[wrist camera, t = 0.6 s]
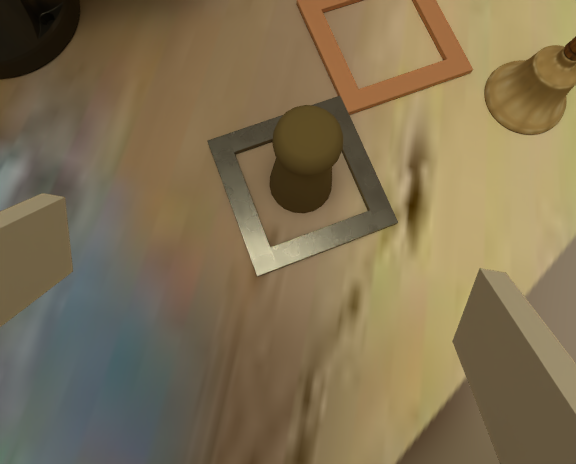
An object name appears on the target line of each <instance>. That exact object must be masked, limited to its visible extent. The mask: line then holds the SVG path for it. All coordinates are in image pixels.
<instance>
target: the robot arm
mask: <svg viewBox="0 0 576 464" xmlns="http://www.w3.org/2000/svg"><path fill="white" fill-rule="evenodd" d="M79 13H80V4H79V0H0V78H9V77H15V76H19V75H22V74H25V73H28V72H31V71H33V70H35V69H37V68H39V67H41V66H43V65H45V64H46V63H48V62H49V61H50V60H52V59H53V58H54V57H55V56H57V55H58V54H59V53H60V52H61V51H62V50H63V48H64V47H65V46H66V45H67V43H68V42H69V40H70V39H71V37H72V35H73V34H74V31H75V29H76V26H77V23H78V19H79ZM71 272H73V267H72V258H71V249H70V240H69V231H68V221H67V212H66V203H65V197H61V196H55V195H50V194H44V193H42V194H40V195H37V196H35V197H33V198H30V199H28V200H26V201H23V202H21V203H19V204H16V205H14V206H12V207H9V208H7V209H5V210H3V211H0V327H1V326H2V325H4V324H5V323H6V322H7V321H9V320H10V319H11V318H13V317H14V316H15V315H17V314H18V313H19V312H21V311H22V310H23V309H24V308H26V307H27V306H28V305H30V304H31V303H32V302H34V301H35V300H36V299H37V298H39V297H40V296H41V295H43V294H44V293H45V292H47V291H48V290H49V289H50V288H52V287H53V286H54V285H56V284H57V283H58V282H60V281H61V280H62V279H64V278H65V277H66V276H67V275H69V274H70V273H71ZM453 344H454V346H455V349H456V352H457V354H458V357H459V359H460V362H461V364H462V367H463V370H464V372H465V375H466V377H467V380H468V383H469V385H470V387H471V390H472V393H473V395H474V398H475V401H476V403H477V406H478V408H479V411H480V413H481V416H482V418H483V421H484V424H485V426H486V429H487V431H488V434H489V437H490V439H491V442H492V444H493V447H494V450H495V452H496V455H497V457H498V460H499V462H500V464H576V363H575V362H574V361H573V359H572V358H571V357H570V355H569V354H568V353H567V351H566V350H565V349H564V347H563V346H562V345H561V344H560V342H559V341H558V340H557V338H556V337H555V336H554V334H553V333H552V332H551V331H550V329H549V328H548V327H547V325H546V324H545V323H544V321H543V320H542V319H541V318H540V317H539V315H538V314H537V312H536V311H535V310H534V309H533V307H532V306H531V305H530V303H529V302H528V301H527V299H526V298H525V297H524V295H523V294H522V293H521V292H520V290H519V289H518V288H517V286H516V285H515V284H514V282H513V281H512V280H511V279H510V277H509V276H508V275H507V273H505V272H499V271H494V270H488V269H482V268H480V269H479V272H478V274H477V277H476V280H475V282H474V285H473V288H472V290H471V293H470V296H469V298H468V301H467V304H466V307H465V309H464V312H463V315H462V317H461V320H460V323H459V325H458V328H457V331H456V333H455V336H454V339H453Z"/></svg>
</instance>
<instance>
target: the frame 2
mask: <svg viewBox="0 0 576 464" xmlns="http://www.w3.org/2000/svg"><path fill="white" fill-rule="evenodd" d="M311 106H317V107H320V108H323V109H325V110H327V111H328V112H329V113H331V114H332V115H333V116H334V117H335V118H336V120H337V121H338V122H339V124H340V126H341V130H342V133H343V148H342V153H343V155H344V157H345V160H346V162H347V164H348V166H349V169H350V171H351V173H352V176H353V178H354V180H355V182H356V185H357V187H358V189H359V191H360V194H361V196H362V198H363V200H364V203H365V205H366V207H367V210H368V211H367V212H364V213H362V214H359V215H356V216H354V217H351V218H348V219H346V220H343V221H340V222H338V223H335V224H332V225H330V226H327V227H324V228H322V229H319V230H316V231H314V232H311V233H308V234H306V235H303V236H300V237H298V238H295V239H292V240H290V241H287V242H284V243H282V244H279V245H276V246H274V247H271V248H270V246H269V243H268V240H267V238H266V235H265V232H264V230H263V227H262V225H261V222H260V219H259V217H258V214H257V211H256V209H255V206H254V204H253V201H252V198H251V196H250V193H249V191H248V188H247V185H246V183H245V180H244V177H243V175H242V172H241V170H240V167H239V164H238V162H237V159H236V156H235V154H238V153H241V152H243V151H246V150H249V149H252V148H255V147H258V146H261V145H264V144H267V143H269V142H272V141H273V132H274V130H275V127H276V125H277V123H278V121H279V119H280V118H281V117H282V116H283V115H282V116H279V117H276V118H273V119H270V120H267V121H264V122H261V123H258V124H255V125H252V126H249V127H246V128H243V129H240V130H238V131H235V132H232V133H229V134H226V135H223V136H220V137H217V138H214V139H211V140H208V144H209V147H210V149H211V152H212V155H213V157H214V160H215V163H216V165H217V168H218V171H219V174H220V176H221V179H222V182H223V184H224V187H225V190H226V193H227V195H228V198H229V201H230V203H231V206H232V209H233V211H234V214H235V217H236V220H237V222H238V225H239V228H240V230H241V233H242V236H243V239H244V241H245V244H246V247H247V249H248V252H249V255H250V258H251V260H252V263H253V266H254V268H255V271H256V274H257V276H261V275H263V274H266V273H269V272H271V271H274V270H277V269H279V268H282V267H284V266H287V265H290V264H292V263H295V262H298V261H300V260H303V259H305V258H308V257H311V256H313V255H316V254H319V253H321V252H324V251H326V250H329V249H332V248H334V247H337V246H340V245H342V244H345V243H347V242H350V241H353V240H355V239H358V238H361V237H363V236H366V235H368V234H371V233H374V232H376V231H379V230H382V229H384V228H387V227H389V226H392V225H395V224H397V223H398V221H397V219H396V217H395V214H394V212H393V210H392V208H391V206H390V203H389V201H388V199H387V197H386V195H385V192H384V190H383V188H382V186H381V184H380V181H379V179H378V177H377V175H376V173H375V170H374V168H373V166H372V164H371V162H370V159H369V157H368V155H367V153H366V151H365V148H364V146H363V144H362V142H361V140H360V137H359V135H358V133H357V131H356V129H355V126H354V124H353V122H352V120H351V118H350V115H349V113H348V111H347V109H346V107H345V104H344V102H343V100H342V98H341V96H338V97H335V98H332V99H329V100H326V101H323V102H320V103H317V104H314V105H311Z"/></svg>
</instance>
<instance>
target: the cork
mask: <svg viewBox="0 0 576 464" xmlns="http://www.w3.org/2000/svg"><path fill="white" fill-rule="evenodd" d="M273 148H274V152H275V156H276V161H275V164H274V167H273V170H272V173H271V176H270V189H271V193H272V196H273V197H274V199H275V200H276V202H277V203H278V204H279V205H281V206H282V207H283V208H284V209H286V210H289V211H291V212H294V213H307V212H311V211H314V210H316V209H317V208H319V207H321V206H322V205H323V204H324V203H325V201H326V200H327V199H328V197H329V195H330V192H331V186H332V166H333V165H334V164H335V163H336V162H337V160H338V158H339V156H340V153H341V151H342V148H343V133H342V130H341V126H340V124H339V122H338V121H337V120H336V118H335V117H334V116H333V115H332V114H331V113H329V112H328V111H327V110H325V109H323V108H320V107H317V106H310V105H304V106H299V107H295V108H293V109H291V110H289V111H288V112H286V113H285V114H284V115H283V116H282V117H281V118H280V119H279V121H278V123H277V125H276V127H275V130H274V132H273Z"/></svg>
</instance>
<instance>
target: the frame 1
mask: <svg viewBox="0 0 576 464" xmlns="http://www.w3.org/2000/svg"><path fill="white" fill-rule="evenodd" d="M359 1H362V0H297V6H298V8H299V10H300V13H301V15H302V17H303V19H304V22H305V24H306V26H307V28H308V30H309V33H310V35H311V37H312V39H313V41H314V44H315V46H316V48H317V50H318V52H319V55H320V57H321V59H322V61H323V63H324V66H325V68H326V70H327V72H328V74H329V77H330V79H331V81H332V83H333V86H334V88H335V90H336V92H337V94H338V96H341V98H342V100H343V102H344V104H345V107H346V109H347V111H348V113H349V115H350V114H353V113H356V112H359V111H362V110H365V109H368V108H371V107H373V106H376V105H379V104H382V103H385V102H388V101H391V100H394V99H397V98H399V97H402V96H405V95H408V94H411V93H414V92H417V91H420V90H423V89H425V88H428V87H431V86H434V85H437V84H440V83H443V82H446V81H449V80H451V79H454V78H457V77H460V76H463V75H466V74H469V73H471V71H472V70H473V68H472V66H471V65H470V63H469V61H468V59H467V57H466V55H465V53H464V52H463V50H462V48H461V46H460V44H459V42H458V40H457V39H456V37H455V35H454V33H453V31H452V29H451V27H450V26H449V24H448V22H447V20H446V18H445V16H444V14H443V13H442V11H441V9H440V7H439V5H438V3H437V1H436V0H412V1H413V3H414V5H415V7H416V9H417V11H418V13H419V14H420V16H421V18H422V20H423V22H424V24H425V26H426V28H427V30H428V32H429V34H430V35H431V37H432V39H433V41H434V43H435V45H436V47H437V49H438V51H439V53H440V55H441V56H442V58H443V61H440V62H438V63H435V64H432V65H429V66H426V67H423V68H420V69H417V70H414V71H411V72H408V73H405V74H402V75H399V76H396V77H393V78H390V79H388V80H385V81H382V82H379V83H376V84H373V85H370V86H367V87H364V88H361V89H358V87H357V85H356V83H355V80H354V78H353V76H352V74H351V72H350V70H349V68H348V65H347V63H346V61H345V59H344V57H343V55H342V53H341V50H340V48H339V46H338V44H337V42H336V40H335V38H334V35H333V33H332V31H331V29H330V27H329V25H328V23H327V20H326V18H325V16H324V14H323V13H324V12H327V11H331V10H334V9H337V8H340V7H343V6H346V5H350V4H353V3H356V2H359Z"/></svg>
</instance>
